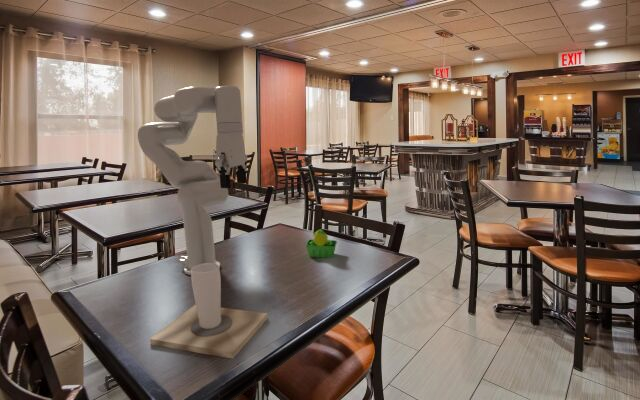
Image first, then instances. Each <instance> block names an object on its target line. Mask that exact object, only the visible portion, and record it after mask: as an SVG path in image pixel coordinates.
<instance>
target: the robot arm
mask: <svg viewBox="0 0 640 400" xmlns="http://www.w3.org/2000/svg"><path fill="white" fill-rule="evenodd" d="M153 109H154V113H155V115H156V117H157V118H158V119H160V122H150V123H146V124H143V125H141V126H140V127H139V128H138V130H137V139H138V140H137V141H138V143H139V147H140V149H141V151H142V152H143V154H144V155H145V156H146V157H147V158H148V159H149V160H150V161H151V162H152V163H153V164H154V165H155V166H156V167H157V168H158V170H159V171H160V172H161V174H162V175H163V176H164V177H165V179H166V180H167V182H168V183H169V184H170V185H171V186H172V187H173V188H175V189H177V201H178V203H179V208H180V210H181V214H182V221H183V229H184V238H185V248H186V249H185V250H186V255H181V256H180V258H179V263H180V264H184V265H185V266H184V267H183V272H184V273H185V274H186V275H189V276H191V269H192V268H193V267H194V266H196V265H199V264H204V263H215V264H218V265H219V269H220V268H221V263H220V261H217V260H216V253H215V252H216V251H215V250H216V249H215V239H214V229H213V227H214V226H213V220H212V217H211V215H210V214H209V213H208V212H207V210H206V209H207V208H211V207H216V206H219V205H222V204H224V203H226V201H228V198H229V190H228V189H231V187H232V182H231V174H230V171H231V168H236V171H235V172H236V173H235V174H236V183H237V184H246V183H247V182H248V181H247V180H248V179H247V165H248V162H247V161H248V154H246V148H245V142H244V136H243V134H244V131H243V130H244V129H243V126H244V125H243V114H242V113H243V111H242V97H241V89H240V88H239V87H238V86H236V85H235V86H234V85H220V86H216V87H209V86H208V87H207V86H188V87H184V88H180V89H177V90H176V91H175V92H174V95H170V96H166V97H163V98H160V99H159V100H158V101H156V103H155V104H154V108H153ZM201 113H204V114H206V113H210V114H215V118H216V131H217V132H216V133H217V134H216V142H215V147H216V148H215V153H216V154H215V155H216V156H215V157H216V159H215V161H214V164H215V166H216V171H217V172H216V171H215V169H213V167H212V166H211V165H210V164H209V163H208V162H206V161H204V160H191V161H190V160H184V159H183V158H182V157H181V156H180V155H179V154H178V153H177V152H176V151H175V150H174V149H172V148H169V147H168V146H177V145H178V146H179V145H184V144H186V142H187V141H188V140H189V137H190V136H191V133H192V131H193V128H194V126H195V125H196V124H195V123H196V121H197V119H198V114H201ZM161 121H162V122H161Z"/></svg>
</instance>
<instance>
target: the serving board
mask: <svg viewBox="0 0 640 400" xmlns="http://www.w3.org/2000/svg"><path fill="white" fill-rule="evenodd" d="M267 320H268V313H266V312H260V311H259V312H258V311H252V310H244V309H243V310H242V309H235V308H227V307H221V323H220V325H218V326H217V327H215V328H212V329H203V328H201V327H200V325H199V318H198V313H197V308H196V303H195V304H194V305H193V306H191V307H190V308H188V309H187V310H186V311H185V312H183V313H182V314H181V315H179V316H178V317H176V318H175V319H174V320H173V321H171V322H170V323H169V324H168V325H166V326H165V327H163V328H162V329H161V330H160V331H158V332H156V333H155V334H154V335H153V336H152V337H150V338H149V342H150V345H152V346H157V347H161V348H162V347H163V348H169V349H173V350H174V349H175V350H180V351H184V352H185V351H187V352H192V353H197V354H204V355H208V356H209V355H210V356H215V357H222V358H227V359H235V358H236V356H238V354H239V353H240V351H242V349H243V348H244V346H246V344H247V343H248V342H249V341H250V340H251V339H252V338H253V336H254V335H256V333H257V332H258V330H260V328H261V327H262V326H263V324H264V323H265V322H266V321H267Z"/></svg>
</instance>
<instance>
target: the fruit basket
mask: <svg viewBox="0 0 640 400" xmlns="http://www.w3.org/2000/svg"><path fill="white" fill-rule="evenodd" d="M337 243H338V241H337V240H332V239H329V238H328V235H327V233H326V232H325V231H324V230H323V229H318V230H317V231H315V233H314V236H313V239H309V240H308V241H307V242H306V243H305V247H306V250H307V253H308V256H309V258H329V259H332V258H333V256H334V254H335V251H336V247H337Z"/></svg>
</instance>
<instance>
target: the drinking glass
mask: <svg viewBox="0 0 640 400" xmlns="http://www.w3.org/2000/svg"><path fill="white" fill-rule="evenodd" d="M190 278H191V279H190V281H191V286H192V287H191V288H192V293H193V298H194V302H195V304H196V308H197V313H198V318H199V325H200V327H201V328H203V329H212V328H215V327H217V326H218V325H220V323H221V308H222V297H221V296H222V288H221V287H222V283H221V282H222V281H221V278H222V277H221V271H220V268H219V265H218V264H215V263H204V264H199V265H196V266H194V267H193V268H192V269H191V275H190Z"/></svg>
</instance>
